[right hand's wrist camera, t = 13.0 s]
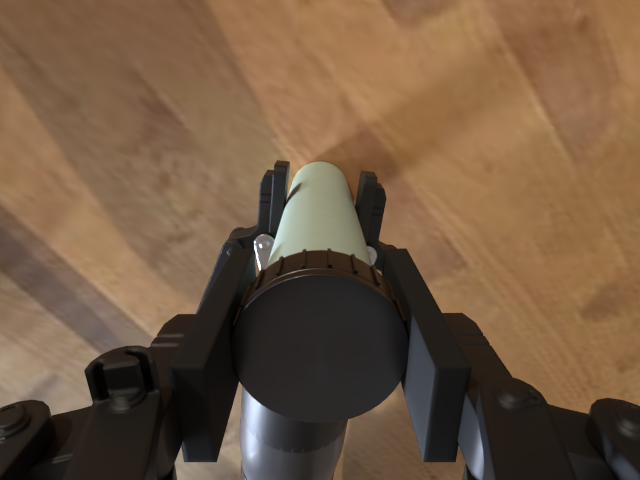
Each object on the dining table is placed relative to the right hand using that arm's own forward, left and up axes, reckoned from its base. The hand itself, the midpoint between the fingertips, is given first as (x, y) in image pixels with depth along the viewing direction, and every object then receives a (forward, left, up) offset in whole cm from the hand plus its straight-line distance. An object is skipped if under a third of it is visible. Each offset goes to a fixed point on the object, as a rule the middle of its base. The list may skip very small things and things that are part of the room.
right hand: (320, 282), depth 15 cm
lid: (0, 0, +4) cm, 4 cm away
